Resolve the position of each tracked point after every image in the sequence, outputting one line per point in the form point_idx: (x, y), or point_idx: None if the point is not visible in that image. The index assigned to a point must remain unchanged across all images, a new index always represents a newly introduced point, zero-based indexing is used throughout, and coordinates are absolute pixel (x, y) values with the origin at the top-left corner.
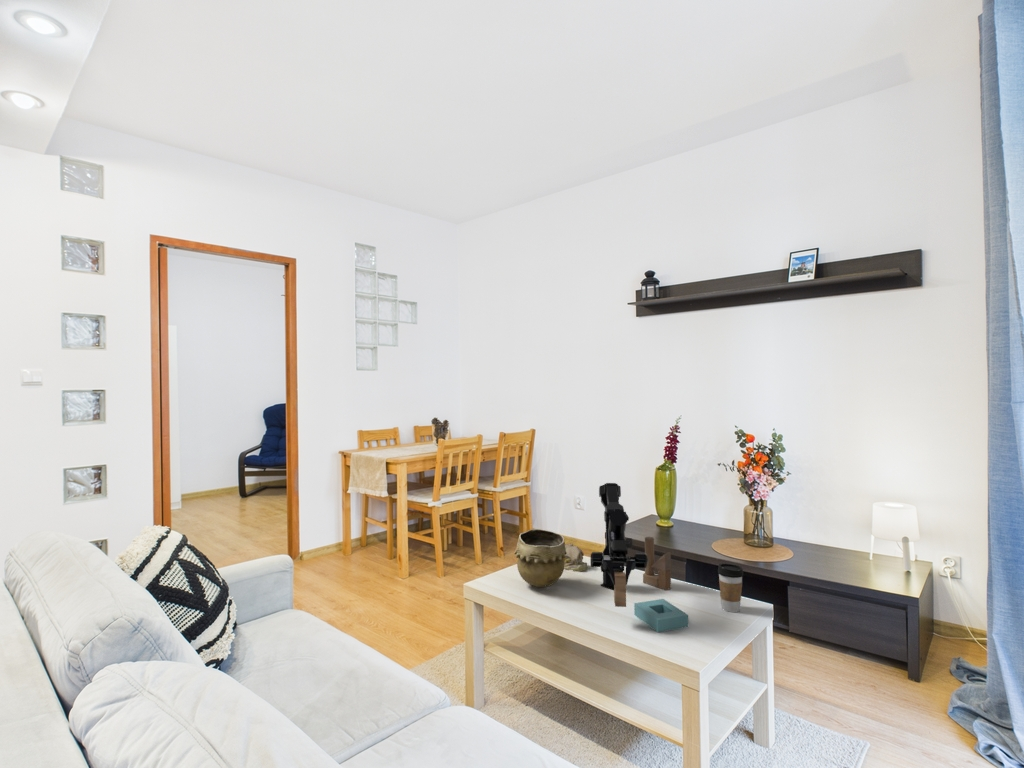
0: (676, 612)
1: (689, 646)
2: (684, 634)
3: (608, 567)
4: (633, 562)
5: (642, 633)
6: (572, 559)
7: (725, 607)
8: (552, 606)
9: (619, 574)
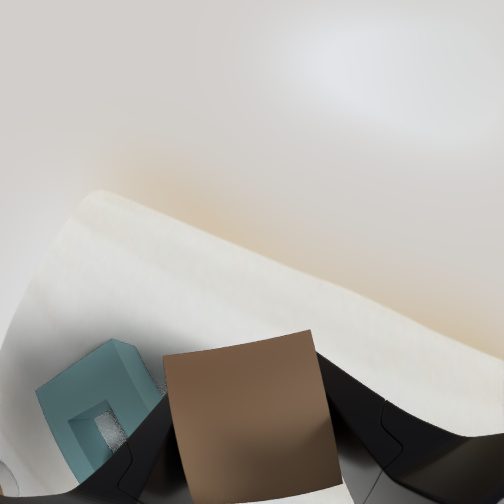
0: (58, 410)
1: (75, 276)
2: (72, 345)
3: (449, 432)
4: (1, 495)
5: (182, 329)
6: None
7: (6, 473)
8: (496, 415)
9: (255, 411)
